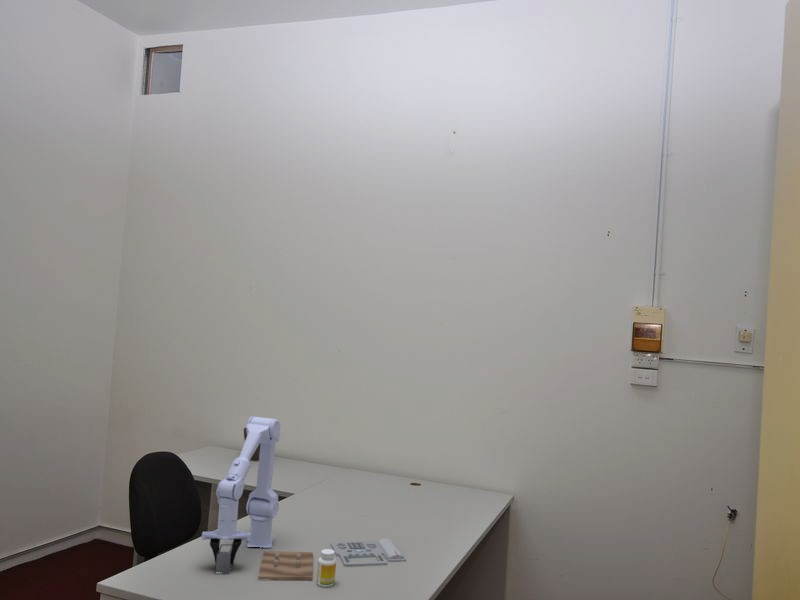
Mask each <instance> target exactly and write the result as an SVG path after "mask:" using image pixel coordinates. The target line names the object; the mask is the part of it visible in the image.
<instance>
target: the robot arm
mask: <svg viewBox="0 0 800 600" xmlns="http://www.w3.org/2000/svg"><path fill="white" fill-rule="evenodd" d="M246 422H247V423H246V425H245V426H246V427H245V428H246V432H247V437H246V440H244V443H243V445H242V449H241V451H240V453H239V456H238V457H236V458H234V459H233V461H232V463H231V465H230V467H229V470H228V472H227V473H226V476H225V478H222V480H220V481H218V484H217V487H216V490H215V491H216V492H215V493H216V497H217V504H218V517H217V530H212V531H202V533H201V541H206V540H210V541H209V546H210V547H211V550H212V553H213V557H214V562H215V563H214V564H215V565H216V560H217V552H218V550H219V548H220V545H221V544H220V543H221V540H222V541H232V543H231V544H232V557H231V565H232V566H233V565H234V563H235V558H236V555H237V552H238V550H239V548H240V546H241V544H242V541H247V545H246V547H247V548H248V547H260V548H261V549H271V548H272V545H273V541H274V536H272V529H273V519H275V518H276V517H277V515H278V513H279V507H280V505H279V495H278V493H276V492H275V491H274V490H273V488H272V484H273V472H274V463H275V451H276V443H277V442H279V441H280V436H281V433H280V432H281V422H280V421H279V419H278V418H271V417H270V418H269V417H259V416H256V415H252V416H250V418H248V420H247V421H246ZM259 443H260V444H261V445H260V455H259V461H258V469H257V477H256V487H255V489H254V490H253V491H251V492H250V493H249V494H248V499H247V502H246V507H245V508H246V509H245V510H246V513H247V515H248V516H249V519H250V530H249V532H247V531H246V532H245V531H240V530H239V531H238V528H237V527H238V526H237V525H238V517H239V516H238V515H239V514H238V511H239V500H240V498H241V497H242V495H243V492H244V487H245V479H246V478H247V475H248V474H249V471H250V469H251V466H252V465H251V462H250V461H251V460H250V459H251V457H252V456H253V454H254V452H255V450H256V449H257V447H258V445H259ZM248 545H249V546H248ZM262 547H263V548H262ZM260 548H259V549H260Z"/></svg>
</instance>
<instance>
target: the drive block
mask: <svg viewBox="0 0 800 600" xmlns="http://www.w3.org/2000/svg"><path fill="white" fill-rule="evenodd" d="M231 557H232V543H221V544H220V545H219V550H218V552H217V560H216V564H215V573H216V572H220V573H221V572H222V573H229V572H231V570H230V568H231V569H232V567H231ZM229 574H230V573H229Z"/></svg>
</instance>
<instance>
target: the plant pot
mask: <svg viewBox="0 0 800 600" xmlns="http://www.w3.org/2000/svg"><path fill="white" fill-rule="evenodd" d="M243 437H244V439H243V440H244V441H245V440H246V437H247V432H246V427H243ZM260 445H261V444H260V443H259V445H258V447H257V449H256V450H255V452H254V454H253V456H252V457H251V459H250V461H255V462H259V455H260Z"/></svg>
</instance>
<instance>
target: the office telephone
mask: <svg viewBox="0 0 800 600" xmlns="http://www.w3.org/2000/svg"><path fill="white" fill-rule="evenodd" d="M329 544H330V547H331V549H332V550H334V551H335V555H334V556H336V557H339V560H341V562H342V564H343V567H345V568H352V567H354V568H355V567H374V566H387V565H388V562H389V563H399V562H401V561H403V562H406V561H407V559H406V556H405V555H404V553H403V552H402V550H401V549H400V547H399V546H398V544H397V543H396V541H395V540H391V539H390V538H382V539H379V540H371V541H370V540H367V541H362V540H361V541H330V543H329ZM360 558H375V559H376V560H377V561H362V562H360V561H359V562H358V561H357V562H355V561H354V562H351V560H350V559H360Z"/></svg>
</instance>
